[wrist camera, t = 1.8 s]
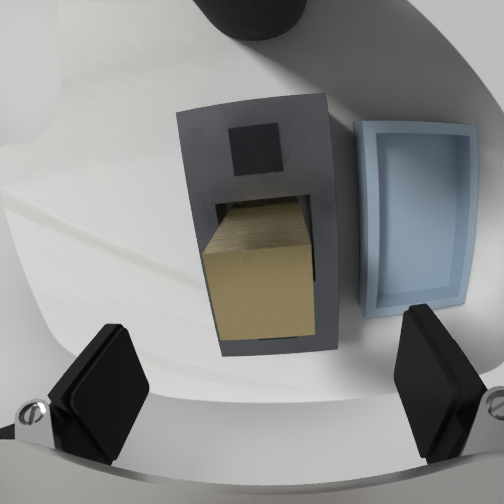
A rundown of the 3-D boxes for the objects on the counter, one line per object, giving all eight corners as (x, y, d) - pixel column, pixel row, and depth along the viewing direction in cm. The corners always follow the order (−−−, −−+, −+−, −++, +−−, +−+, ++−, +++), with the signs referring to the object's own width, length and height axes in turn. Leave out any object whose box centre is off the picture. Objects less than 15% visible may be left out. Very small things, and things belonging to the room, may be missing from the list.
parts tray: (352, 122, 19) (362, 120, 17) (459, 124, 18) (476, 125, 16) (358, 302, 24) (365, 319, 22) (451, 289, 23) (464, 303, 21)
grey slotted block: (198, 116, 20) (175, 112, 15) (314, 102, 19) (326, 93, 14) (231, 317, 25) (222, 357, 21) (328, 310, 25) (337, 350, 20)
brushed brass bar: (234, 201, 20) (202, 254, 11) (296, 195, 19) (311, 244, 11) (243, 259, 21) (220, 340, 13) (301, 253, 21) (315, 334, 12)
